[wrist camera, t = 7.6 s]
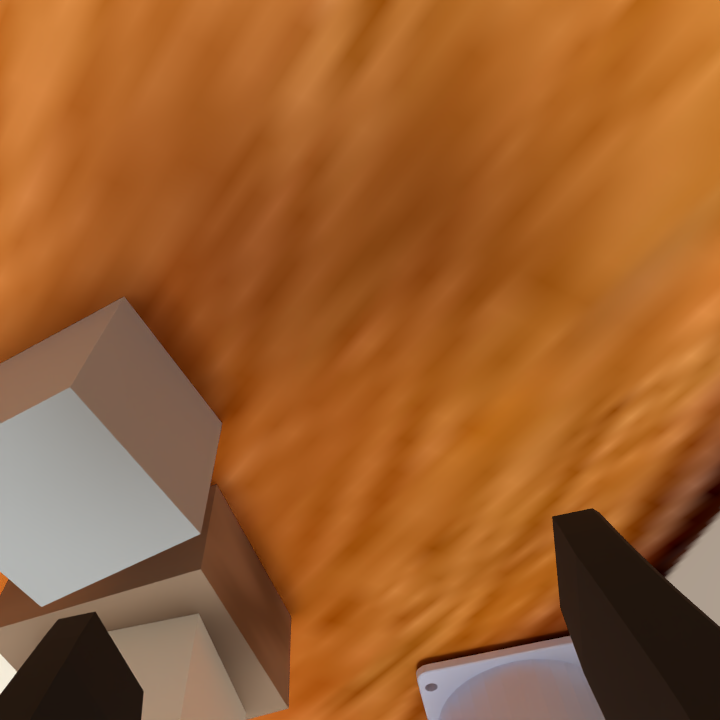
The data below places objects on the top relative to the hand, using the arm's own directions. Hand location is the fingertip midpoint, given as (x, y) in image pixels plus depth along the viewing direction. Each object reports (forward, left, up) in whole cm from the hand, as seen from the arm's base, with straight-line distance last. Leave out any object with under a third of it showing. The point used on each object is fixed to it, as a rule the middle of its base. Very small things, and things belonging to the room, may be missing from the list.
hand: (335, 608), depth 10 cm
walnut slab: (-9, +8, -11) cm, 16 cm away
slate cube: (-1, +7, -10) cm, 13 cm away
